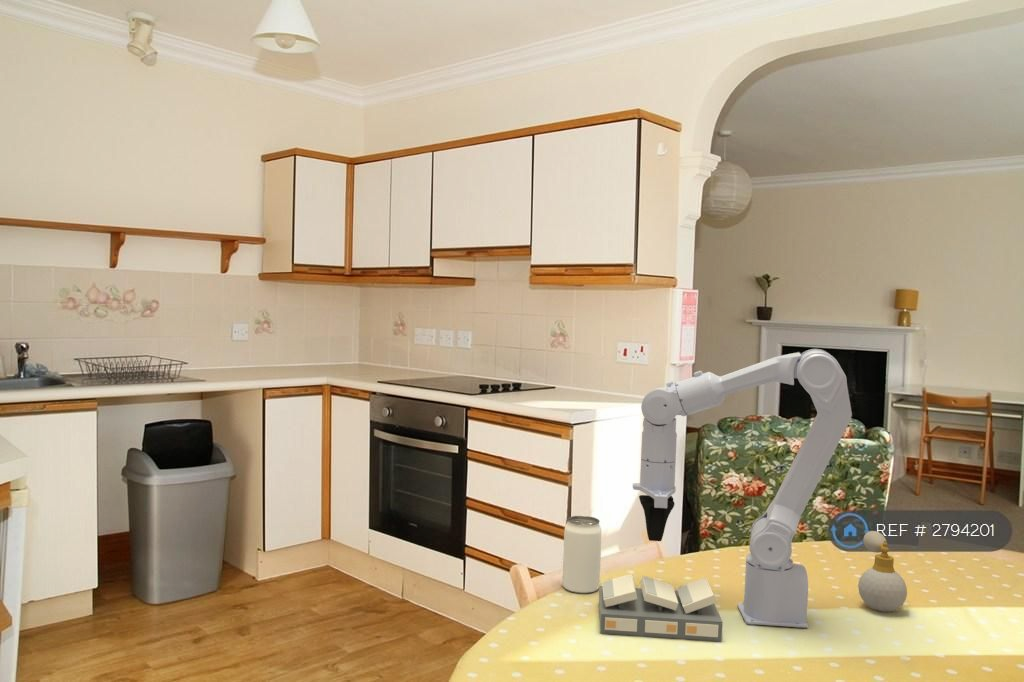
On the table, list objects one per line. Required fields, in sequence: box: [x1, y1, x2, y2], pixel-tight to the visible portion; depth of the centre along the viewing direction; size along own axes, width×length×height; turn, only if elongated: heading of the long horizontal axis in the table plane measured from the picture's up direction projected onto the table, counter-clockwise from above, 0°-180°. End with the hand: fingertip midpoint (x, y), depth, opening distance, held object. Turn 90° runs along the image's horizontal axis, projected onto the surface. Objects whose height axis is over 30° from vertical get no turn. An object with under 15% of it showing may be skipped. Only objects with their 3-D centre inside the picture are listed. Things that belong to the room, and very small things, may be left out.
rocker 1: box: [602, 573, 637, 607], centre depth 128 cm, size 5×8×1 cm, turn 175°
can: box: [562, 515, 603, 595], centre depth 141 cm, size 6×6×12 cm
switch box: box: [598, 585, 723, 642], centre depth 128 cm, size 18×12×4 cm
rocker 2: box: [676, 576, 717, 614], centre depth 127 cm, size 5×8×1 cm, turn 175°
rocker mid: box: [640, 575, 678, 610], centre depth 128 cm, size 5×8×1 cm, turn 175°
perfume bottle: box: [857, 530, 908, 613], centre depth 137 cm, size 8×10×12 cm
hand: (654, 539), depth 136 cm, fingers closed
